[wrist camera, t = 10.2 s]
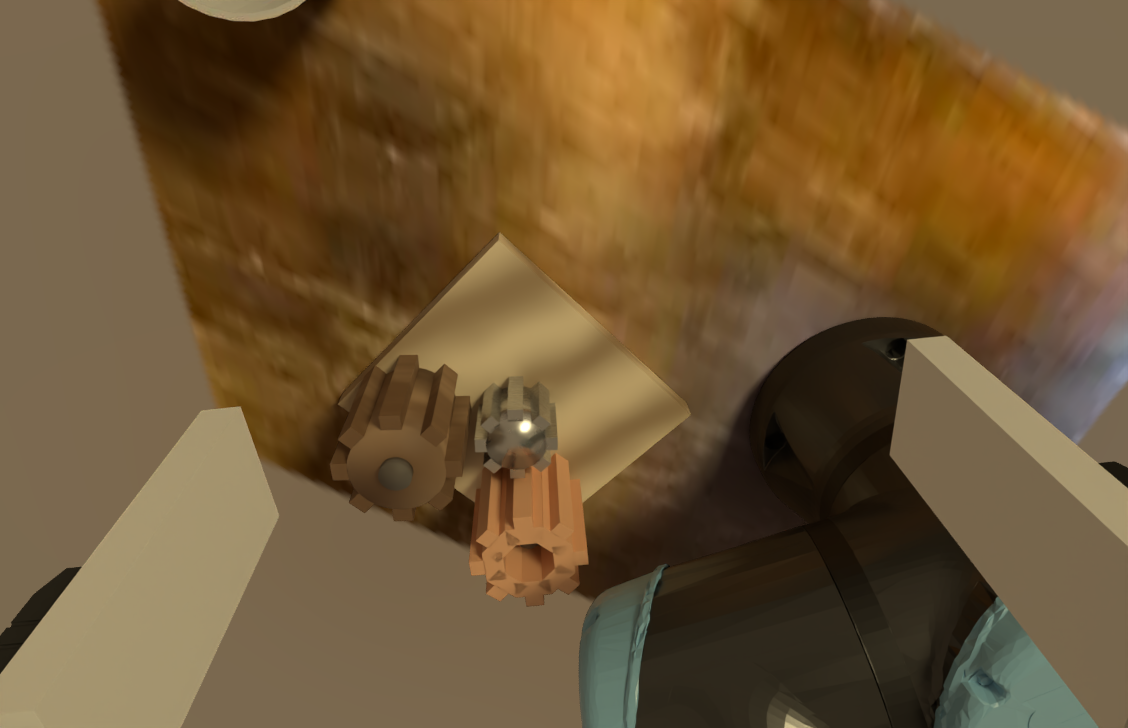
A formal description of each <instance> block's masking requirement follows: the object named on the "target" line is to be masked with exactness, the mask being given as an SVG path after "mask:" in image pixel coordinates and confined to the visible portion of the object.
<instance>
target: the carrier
mask: <svg viewBox="0 0 1128 728" xmlns="http://www.w3.org/2000/svg"><path fill="white" fill-rule="evenodd" d="M400 355H418V361H419V368H423V369H427V370H429V371H432V372H434V373H435V372H436V371H437V370H438V369H439V368H440V367H441V366H442V365H444V364H446V365H447V366H448V367H449V368H451V369H452V370H453V371H455V372H456V373H457V374H458V377H457V383H456V388H455V396H470V402H471V415H470V423H469V430H468V438H467V445H466V453H465V460H464V468H463V476H462V477H456V480H455V487H454V488H455V489H456V490H458V491H459V492H461V493H462V494H463V495H465V496H466V497H468V498H469V499H470V500H472V501H473V502H475V497H476V489H481V481H482V470H483V468H484V467H485V466H483V461H484V452H475V432H476V423H477V414H478V406H479V405H481V404H483V397H484V391H485V390H486V389H487V388H488V387H489V386H490V385H491V384H493V383H495V384H496V385H498V386H499V387H500V388H501V389H503V388H505V387H508V384H509V376H523V384H524V386H526V387H529V388H532V387H533V386H534V385H535V384H536V383H537V382H540V383H541V384H542V385H544V386H545V387H546V388H547V389H548V390H549V401H550V403H555V405H556V421H557V436H558V450H551V457H552V456H553V455H554V454H555V453H557V454H558V455H560V456H561V457H563V458H565V459H566V460H568V463H569V475H570V480H573V479H580V486H581V495H582V503H583V502H584V501H585V500H587V499H588V498H589V497H590V496H592V495H593V494H594V493H595V492H596V491H598V490H599V489H600V488H601V487H603V486H604V485H605V484H606V483H607V482H609V481H610V480H611V479H612V478H614V477H615V476H616V475H617V474H619V473H620V472H621V471H622V470H623V469H625V468H626V467H627V466H628V465H630V464H631V463H632V462H633V461H635V460H636V459H637V458H638V457H639V456H641V455H642V454H643V453H644V452H646V451H647V450H648V449H649V448H651V447H652V446H653V445H654V444H655V443H657V442H658V441H659V440H660V439H662V438H663V437H664V436H665V435H667V434H668V433H669V432H670V431H671V430H673V429H674V428H675V427H676V426H678V425H679V424H680V423H681V422H682V421H684V420H685V419H686V418H687V417H689V416H690V415H691V414H690V411H689V408H688V406H687V403H686V402H685V401H684V400H683V399H682V398H681V397H679V396H678V395H677V394H676V393H675V392H674V391H673V390H672V389H671V388H670V387H668V386H667V385H666V384H665V383H664V382H663V381H662V380H661V379H660V378H659V377H658V376H656V375H655V374H654V373H653V372H652V371H651V370H650V369H649V368H648V367H647V366H645V365H644V364H643V363H642V362H641V361H640V360H639V359H638V358H637V357H636V356H635V355H633V354H632V353H631V352H630V351H629V350H628V349H627V348H626V347H625V346H624V345H623V344H621V343H620V342H619V341H618V340H617V339H616V338H615V337H614V336H613V335H612V334H610V333H609V332H608V331H607V330H606V329H605V328H604V327H603V326H602V325H601V324H600V323H598V322H597V321H596V320H595V319H594V318H593V317H592V316H591V315H590V314H589V313H587V312H586V311H585V310H584V309H583V308H582V307H581V306H580V305H579V304H578V303H577V302H575V301H574V300H573V299H572V298H571V297H570V296H569V295H568V294H567V293H566V292H565V291H563V290H562V289H561V288H560V287H559V286H558V285H557V284H556V283H555V282H554V281H552V280H551V279H550V278H549V277H548V276H547V275H546V274H545V273H544V272H543V271H542V270H540V269H539V268H538V267H537V266H536V265H535V264H534V263H533V262H532V261H531V260H529V259H528V258H527V257H526V256H525V255H524V254H523V253H522V252H521V251H520V250H519V249H517V248H516V247H515V246H514V245H513V244H512V243H511V242H510V241H509V240H508V239H506V238H505V237H504V236H503V235H502V234H501V233H500V232H499V233H498V234H497V235H496V236H495V237H494V238H493V239H492V240H491V241H490V242H489V243H488V244H487V245H486V246H485V248H484V249H483V250H482V251H481V252H480V253H479V254H478V255H477V256H476V257H475V258H474V259H473V260H472V261H471V262H470V263H469V264H468V265H467V266H466V267H465V268H464V269H463V270H462V271H461V272H460V273H459V274H458V275H457V276H456V277H455V278H454V279H453V280H452V281H451V282H450V283H449V284H448V285H447V286H446V288H445V289H444V290H443V291H442V292H441V293H440V294H439V295H438V296H437V297H436V298H435V299H434V300H433V301H432V302H431V303H430V304H429V305H428V306H427V307H426V308H425V309H424V310H423V311H422V312H421V313H420V314H419V315H418V316H417V317H416V318H415V319H414V320H413V321H412V322H411V323H410V324H409V325H408V326H407V328H406V329H405V330H404V331H403V332H402V333H401V334H400V335H399V336H398V337H397V338H396V339H395V340H394V341H393V342H392V343H391V344H390V345H389V346H388V347H387V348H386V349H385V350H384V351H383V352H382V353H381V354H380V355H379V356H378V357H377V358H376V359H375V360H374V361H373V362H372V363H371V364H370V365H369V366H368V368H367V369H366V370H365V371H364V372H363V373H362V374H361V375H360V376H359V377H358V378H357V379H356V380H355V381H354V382H353V383H352V384H351V385H350V386H349V387H348V388H347V389H346V390H345V391H344V392H343V394H342V396H341V398H340V401H339V403H338V405H339V406H341V407H342V408H343V409H345V410H346V411H348V412H349V411H350V409H351V407H352V404H353V402H354V399H355V397H356V395H357V392H358V390H359V387H360V385H361V383H362V380H363V378H364V376H365V375H366V374H367V373H368V372H369V371H370V370H371V369H372V368H373V367H374V366H375V365H376V366H377V367H378V368H380V369H381V370H382V371H384V372H385V373H386V374H388V373H389V372H391V371H394V370H395V367H396V365H397V362H398V359H399V356H400ZM537 545H538V544H537V543H534V544H524V545H520V546H521V547H522V548H525V549H532V548H534V547H536V546H537Z"/></svg>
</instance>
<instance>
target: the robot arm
mask: <svg viewBox="0 0 1128 728" xmlns="http://www.w3.org/2000/svg"><path fill="white" fill-rule="evenodd" d="M750 444H751V448H752V452H753V455H754V458H755V460H756V463H757V465H758V467H759V469H760V471H761V473H762V475H763V477H764V479H765V481H766V483H767V484H768V486H769V487H770V489H771V490H772V491H773V492H774V494H775V495H776V496H777V497H778V498H779V499H780V500H781V501H782V502H783V503H784V504H785V505H787V506H788V507H789V508H790V509H792V510H793V511H794V512H795V513H797V514H798V515H799V516H800V517H802V518H803V519H804V520H805V521H807V522H808V523H809V524H807V525H804V526H799V527H795V528H792V529H789V530H786V531H783V532H780V533H777V534H774V535H771V536H768V537H765V538H762V539H759V540H755V541H752V542H749V543H746V544H743V545H740V546H737V547H734V548H730V549H727V550H724V551H721V552H717V553H714V554H711V555H707V556H704V557H701V558H698V559H694V560H691V561H688V562H684V563H681V564H678V565H674V566H671V567H670V566H669V565H668V564H664V565H660V566H658V567H657V568H656V569H655V570H654V571H653V572H651V573H649V574H646V575H643V576H641V577H638V578H635V579H633V580H630V581H627V582H625V583H622V584H619V585H617V586H614V587H611V588H609V589H607V590H605V591H604V592H603V593H601V594H600V595H599V596H598V597H597V598H596V599H595V600H594V602H593V603H592V605H591V606H590V608H589V610H588V612H587V614H586V617H585V621H584V624H583V629H582V637H581V641H580V651H579V694H580V709H581V719H582V727H583V728H1128V468H1127V467H1125V466H1123V465H1121V464H1119V463H1117V462H1105V463H1097V462H1096V461H1095V460H1093V459H1092V458H1091V457H1090V456H1088V454H1086V453H1085V452H1084V451H1083V450H1081V449H1080V448H1079V447H1078V446H1077V445H1076V444H1074V443H1073V442H1072V441H1071V440H1070V439H1068V438H1067V437H1066V436H1065V435H1064V434H1063V433H1061V432H1060V431H1059V430H1058V429H1057V428H1055V427H1054V426H1053V425H1052V424H1051V423H1049V422H1048V421H1047V420H1046V419H1045V418H1044V417H1042V416H1041V415H1040V414H1039V413H1038V412H1036V411H1035V410H1034V409H1033V408H1032V407H1030V406H1029V405H1028V404H1027V403H1026V402H1024V401H1023V400H1022V399H1021V398H1020V397H1019V396H1017V395H1016V394H1015V393H1014V392H1013V391H1011V390H1010V389H1009V388H1008V387H1007V386H1005V385H1004V384H1003V383H1002V382H1001V381H999V380H998V379H997V378H996V377H995V376H994V375H992V374H991V373H990V372H989V371H988V370H986V369H985V368H984V367H983V366H982V365H980V364H979V363H978V362H977V361H976V360H975V359H973V358H972V357H971V356H970V355H969V354H967V353H966V352H965V351H964V350H963V349H961V348H960V347H959V346H958V345H957V344H955V343H954V342H953V341H952V340H951V339H950V338H948V337H947V336H943V335H942V334H941V333H939V332H938V331H936V330H934V329H933V328H931V327H929V326H926V325H924V324H921V323H919V322H915V321H912V320H907V319H901V318H890V317H877V318H867V319H861V320H856V321H852V322H848V323H845V324H841V325H838V326H836V327H833V328H831V329H828V330H826V331H824V332H822V333H820V334H818V335H816V336H814V337H813V338H811V339H809V340H808V341H806V342H805V343H803V344H802V345H800V346H799V347H798V348H796V349H795V350H794V351H792V352H791V353H790V354H789V355H788V356H787V357H786V358H785V359H784V360H783V361H782V362H781V363H780V364H779V365H778V366H777V367H776V368H775V369H774V371H773V372H772V373H771V374H770V376H769V377H768V379H767V380H766V382H765V383H764V385H763V387H762V388H761V390H760V392H759V394H758V396H757V399H756V401H755V404H754V407H753V410H752V415H751V420H750ZM278 518H279V514H278V511H277V508H276V506H275V502H274V500H273V497H272V494H271V491H270V488H269V486H268V483H267V480H266V477H265V475H264V472H263V469H262V466H261V463H260V460H259V458H258V455H257V452H256V449H255V446H254V444H253V441H252V438H251V435H250V432H249V430H248V427H247V424H246V421H245V418H244V416H243V413H242V410H241V407H232V408H222V409H212V410H204V411H203V410H202V411H201V412H200V413H199V415H198V416H197V417H196V419H195V420H194V421H193V422H192V424H191V425H190V426H189V428H188V429H187V430H186V432H185V433H184V434H183V436H182V437H181V438H180V439H179V441H178V442H177V444H176V445H175V446H174V447H173V449H172V450H171V451H170V452H169V454H168V455H167V456H166V458H165V459H164V460H163V462H162V463H161V464H160V466H159V467H158V468H157V470H156V471H155V472H154V474H153V475H152V476H151V478H150V479H149V480H148V481H147V483H146V484H145V486H144V487H143V488H142V489H141V491H140V492H139V493H138V494H137V496H136V497H135V498H134V500H133V501H132V502H131V504H130V505H129V506H128V507H127V509H126V510H125V511H124V513H123V514H122V515H121V517H120V518H119V519H118V521H117V522H116V523H115V525H114V526H113V527H112V528H111V530H110V531H109V532H108V534H107V535H106V536H105V538H104V539H103V540H102V542H101V543H100V544H99V545H98V547H97V548H96V549H95V551H94V552H93V553H92V555H91V556H90V557H89V559H88V560H87V561H86V562H85V564H84V565H83V566H82V567H75V568H66V569H65V570H64V571H63V572H61V573H60V574H59V575H57V576H56V577H55V578H54V579H52V580H51V581H50V582H49V583H47V584H46V585H45V586H43V587H42V588H41V589H40V590H38V591H37V592H36V593H35V594H34V595H33V596H32V597H31V598H30V600H29V601H28V602H27V603H26V604H25V606H24V607H23V608H22V609H21V611H20V612H19V613H18V614H17V616H16V617H15V618H14V619H13V621H12V622H11V623H12V625H11V627H10V628H6V629H5V631H4V632H3V633H2V634H1V636H0V728H181V726H182V724H183V721H184V719H185V717H186V715H187V713H188V711H189V709H190V706H191V704H192V702H193V700H194V698H195V696H196V693H197V691H198V689H199V687H200V685H201V683H202V681H203V679H204V676H205V674H206V672H207V670H208V668H209V666H210V664H211V661H212V659H213V657H214V655H215V653H216V650H217V649H218V646H219V644H220V642H221V640H222V638H223V635H224V634H225V631H226V629H227V627H228V625H229V623H230V621H231V619H232V616H233V614H234V612H235V610H236V608H237V606H238V604H239V601H240V599H241V597H242V595H243V593H244V590H245V588H246V586H247V584H248V582H249V580H250V578H251V576H252V573H253V571H254V569H255V567H256V565H257V563H258V561H259V558H260V556H261V554H262V552H263V550H264V548H265V545H266V543H267V541H268V539H269V537H270V535H271V533H272V531H273V528H274V526H275V524H276V522H277V520H278Z"/></svg>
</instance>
